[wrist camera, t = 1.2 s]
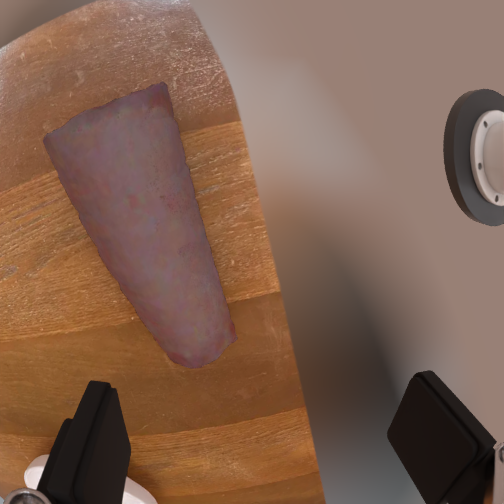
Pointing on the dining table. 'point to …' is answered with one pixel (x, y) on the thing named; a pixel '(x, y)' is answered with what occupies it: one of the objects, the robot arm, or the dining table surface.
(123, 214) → the brown tapered cylinder
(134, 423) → the dining table surface
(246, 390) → the dining table surface
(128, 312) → the dining table surface
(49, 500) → the robot arm
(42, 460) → the bowl
